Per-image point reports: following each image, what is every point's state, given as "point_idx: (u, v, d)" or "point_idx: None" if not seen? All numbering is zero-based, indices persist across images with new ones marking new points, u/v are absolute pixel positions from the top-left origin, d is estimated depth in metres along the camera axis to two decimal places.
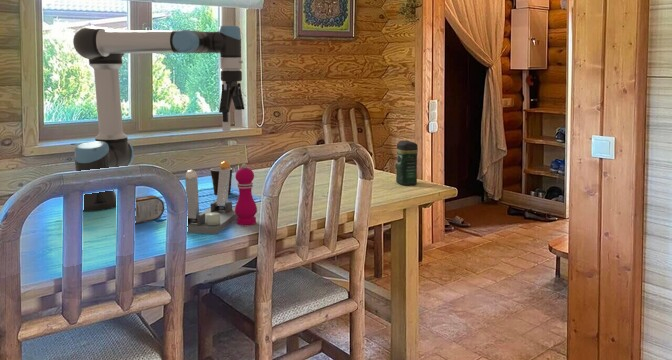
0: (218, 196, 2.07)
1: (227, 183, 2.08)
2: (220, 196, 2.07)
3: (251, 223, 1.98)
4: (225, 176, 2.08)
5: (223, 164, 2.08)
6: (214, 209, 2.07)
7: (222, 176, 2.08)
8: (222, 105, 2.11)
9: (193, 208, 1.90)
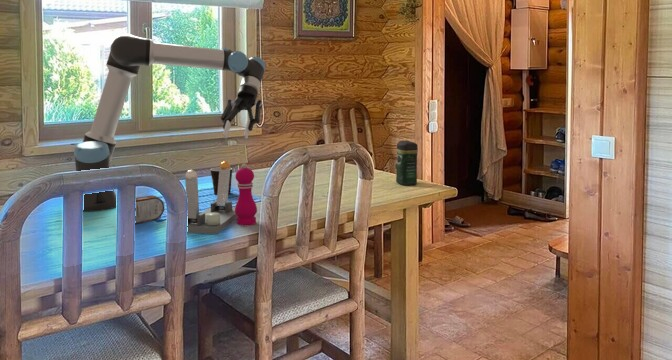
0: (218, 196, 2.07)
1: (227, 183, 2.08)
2: (220, 196, 2.07)
3: (251, 223, 1.98)
4: (225, 176, 2.08)
5: (223, 164, 2.08)
6: (214, 209, 2.07)
7: (222, 176, 2.08)
8: (258, 117, 2.31)
9: (193, 208, 1.90)
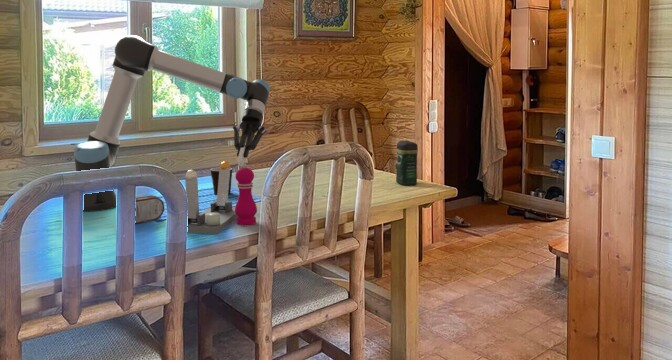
0: (218, 196, 2.07)
1: (227, 183, 2.08)
2: (220, 196, 2.07)
3: (251, 223, 1.98)
4: (225, 176, 2.08)
5: (223, 164, 2.08)
6: (214, 209, 2.07)
7: (222, 176, 2.08)
8: (255, 144, 2.27)
9: (193, 208, 1.90)
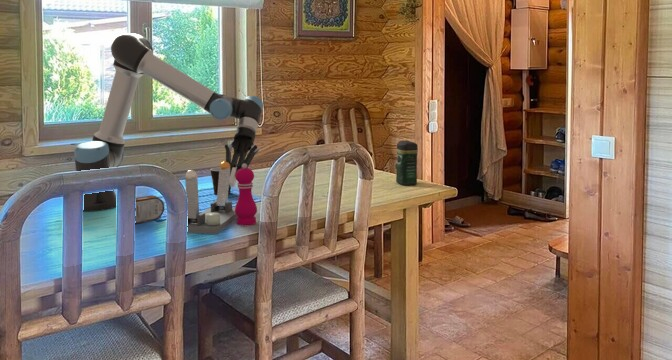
0: (218, 196, 2.07)
1: (227, 183, 2.08)
2: (220, 196, 2.07)
3: (251, 223, 1.98)
4: (225, 176, 2.08)
5: (223, 164, 2.08)
6: (214, 209, 2.07)
7: (222, 176, 2.08)
8: (247, 164, 2.19)
9: (193, 208, 1.90)
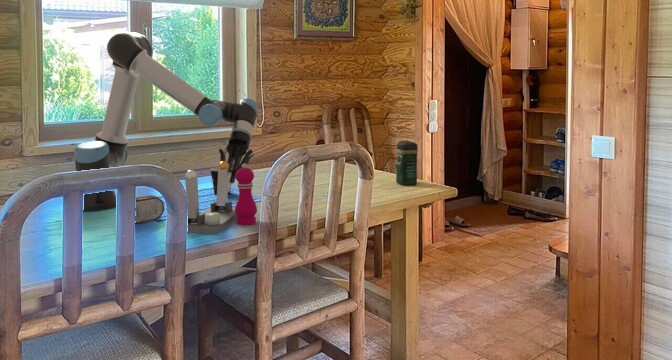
0: (218, 196, 2.07)
1: (226, 183, 2.08)
2: (220, 197, 2.07)
3: (251, 223, 1.98)
4: (224, 176, 2.07)
5: (222, 164, 2.07)
6: (214, 209, 2.07)
7: (222, 176, 2.07)
8: None
9: (193, 208, 1.90)
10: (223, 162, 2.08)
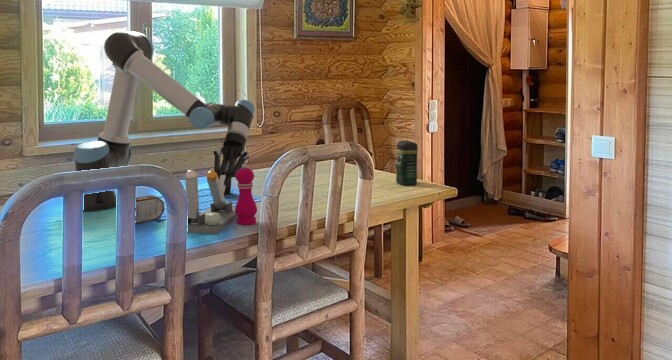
0: (215, 202, 2.05)
1: (219, 190, 2.02)
2: (217, 202, 2.05)
3: (251, 223, 1.98)
4: (216, 187, 2.00)
5: (210, 178, 1.97)
6: (214, 209, 2.07)
7: (213, 186, 2.00)
8: (236, 171, 2.09)
9: (193, 208, 1.90)
10: (210, 175, 1.97)
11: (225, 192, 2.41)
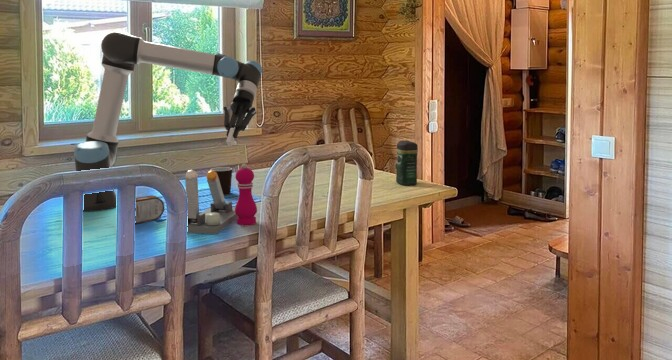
0: (215, 202, 2.05)
1: (219, 190, 2.02)
2: (217, 202, 2.05)
3: (251, 223, 1.98)
4: (216, 187, 2.00)
5: (210, 178, 1.97)
6: (214, 209, 2.07)
7: (213, 186, 2.00)
8: (245, 125, 2.25)
9: (193, 208, 1.90)
10: (210, 175, 1.97)
11: (225, 192, 2.41)
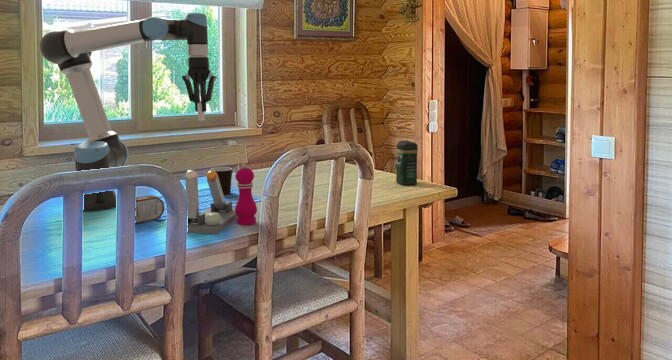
0: (215, 202, 2.05)
1: (219, 190, 2.02)
2: (217, 202, 2.05)
3: (251, 223, 1.98)
4: (216, 187, 2.00)
5: (210, 178, 1.97)
6: (214, 209, 2.07)
7: (213, 186, 2.00)
8: (210, 96, 2.26)
9: (193, 208, 1.90)
10: (210, 175, 1.97)
11: (225, 192, 2.41)
